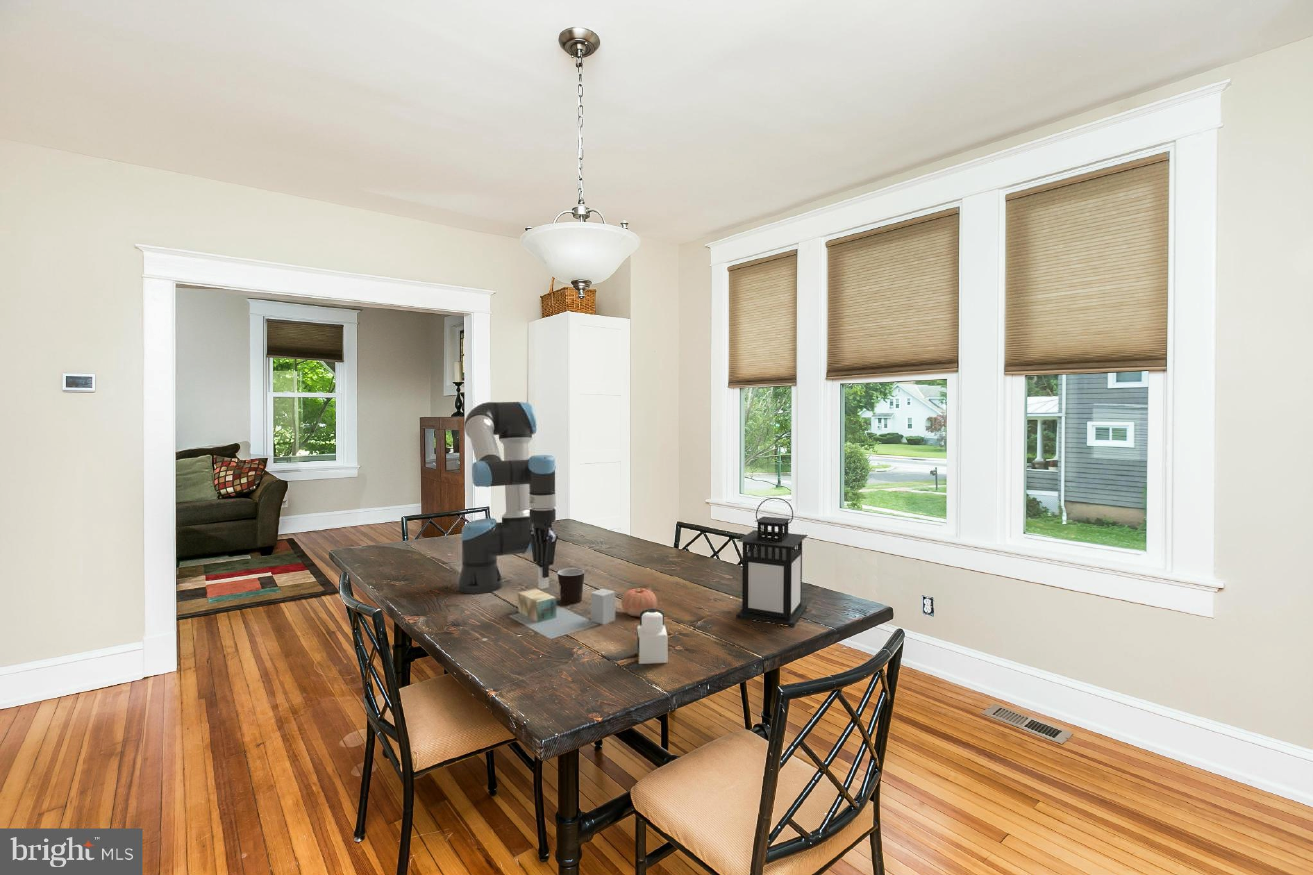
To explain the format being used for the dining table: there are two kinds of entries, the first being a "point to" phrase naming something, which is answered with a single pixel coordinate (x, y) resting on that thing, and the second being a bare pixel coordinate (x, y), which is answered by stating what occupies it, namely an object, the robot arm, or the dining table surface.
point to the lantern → (772, 573)
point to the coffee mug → (571, 585)
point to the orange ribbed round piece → (638, 601)
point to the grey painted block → (603, 606)
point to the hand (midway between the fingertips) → (543, 587)
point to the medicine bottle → (652, 637)
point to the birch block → (537, 605)
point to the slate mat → (556, 623)
